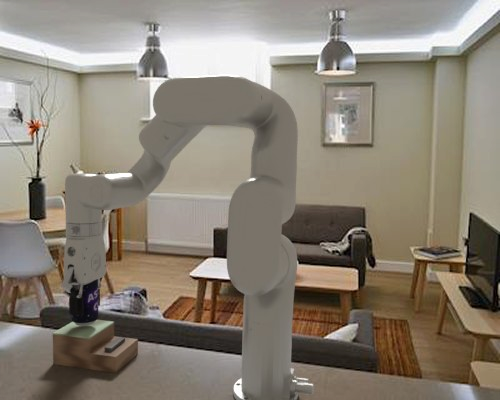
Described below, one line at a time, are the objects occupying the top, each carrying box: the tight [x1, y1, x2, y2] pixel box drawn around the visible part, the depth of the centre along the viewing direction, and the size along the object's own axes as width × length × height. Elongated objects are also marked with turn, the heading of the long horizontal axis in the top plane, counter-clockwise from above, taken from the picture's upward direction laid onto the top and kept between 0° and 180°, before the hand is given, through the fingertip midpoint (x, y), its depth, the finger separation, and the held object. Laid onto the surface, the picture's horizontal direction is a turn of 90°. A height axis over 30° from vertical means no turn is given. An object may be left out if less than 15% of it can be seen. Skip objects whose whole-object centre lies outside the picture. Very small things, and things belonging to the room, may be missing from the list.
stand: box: [52, 319, 139, 374], centre depth 105 cm, size 15×10×7 cm, turn 77°
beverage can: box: [70, 279, 99, 326], centre depth 105 cm, size 6×6×12 cm
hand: (85, 309), depth 105 cm, fingers closed on beverage can, 5 cm apart
